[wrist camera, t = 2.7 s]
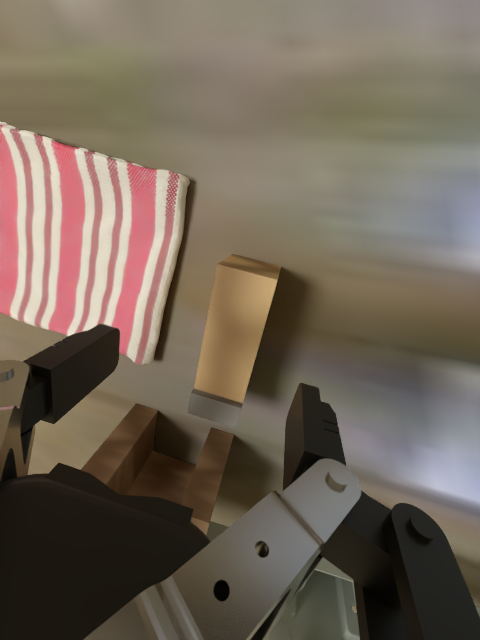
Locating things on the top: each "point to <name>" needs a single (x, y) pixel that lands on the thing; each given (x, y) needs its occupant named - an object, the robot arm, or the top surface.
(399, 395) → the top surface
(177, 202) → the dish towel
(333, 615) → the bracket
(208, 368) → the tan rectangular block
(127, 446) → the wooden block holder
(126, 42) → the top surface
